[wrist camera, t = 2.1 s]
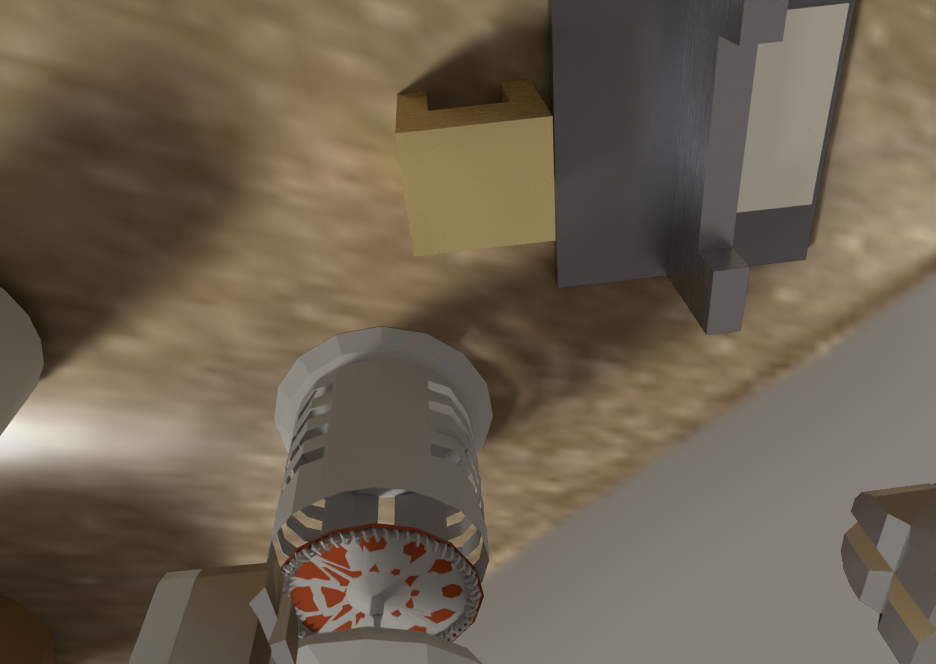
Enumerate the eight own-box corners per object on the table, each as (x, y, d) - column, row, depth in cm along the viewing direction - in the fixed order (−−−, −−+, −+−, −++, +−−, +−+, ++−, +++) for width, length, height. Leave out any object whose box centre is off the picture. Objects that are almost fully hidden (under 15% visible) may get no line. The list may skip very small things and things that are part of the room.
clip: (397, 94, 24) (395, 133, 20) (529, 79, 24) (552, 115, 20) (412, 202, 26) (413, 256, 23) (534, 189, 26) (555, 240, 23)
